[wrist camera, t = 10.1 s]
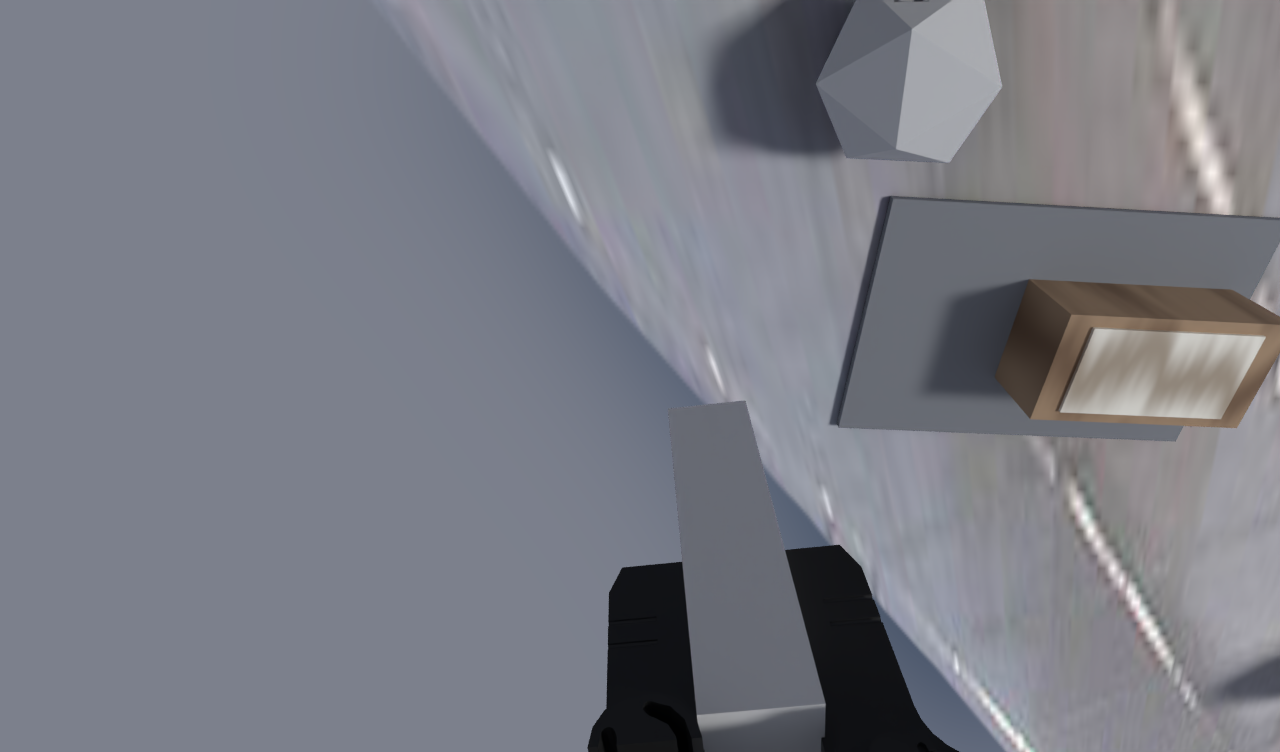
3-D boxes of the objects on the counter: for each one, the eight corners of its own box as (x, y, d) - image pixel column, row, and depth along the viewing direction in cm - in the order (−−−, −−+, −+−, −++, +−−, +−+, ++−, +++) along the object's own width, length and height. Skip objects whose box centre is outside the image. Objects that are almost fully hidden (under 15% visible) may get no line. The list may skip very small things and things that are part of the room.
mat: (890, 196, 43) (893, 198, 43) (1284, 218, 44) (1290, 220, 44) (836, 423, 51) (838, 427, 51) (1170, 437, 52) (1175, 441, 52)
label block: (1073, 316, 41) (1297, 327, 42) (1028, 279, 45) (1232, 289, 46) (1031, 421, 45) (1239, 429, 45) (994, 377, 49) (1183, 385, 50)
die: (997, 35, 40) (1032, -77, 30) (973, 195, 40) (1001, 132, 30) (840, 35, 42) (829, -67, 33) (818, 185, 42) (800, 125, 33)
